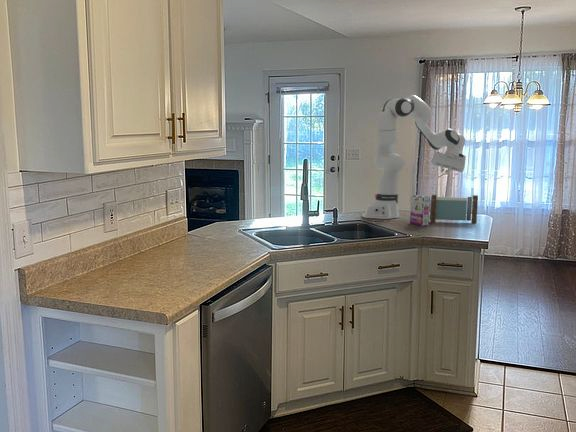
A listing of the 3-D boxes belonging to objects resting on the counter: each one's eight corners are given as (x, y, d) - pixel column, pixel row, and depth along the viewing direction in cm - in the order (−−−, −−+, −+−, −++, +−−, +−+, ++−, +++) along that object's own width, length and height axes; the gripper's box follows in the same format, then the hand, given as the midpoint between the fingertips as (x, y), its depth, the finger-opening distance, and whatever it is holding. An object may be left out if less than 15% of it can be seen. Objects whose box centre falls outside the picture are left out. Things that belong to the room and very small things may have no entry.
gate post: (472, 223, 318) (473, 195, 316) (471, 222, 321) (472, 195, 319) (476, 223, 318) (478, 195, 315) (475, 222, 321) (477, 195, 318)
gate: (430, 219, 322) (431, 196, 320) (429, 218, 325) (430, 195, 323) (471, 220, 318) (472, 197, 316) (470, 220, 321) (471, 196, 319)
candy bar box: (429, 225, 311) (430, 196, 309) (422, 226, 309) (423, 197, 307) (416, 222, 321) (417, 194, 319) (409, 223, 319) (410, 194, 317)
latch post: (431, 222, 320) (432, 195, 318) (430, 222, 322) (431, 194, 320) (435, 223, 320) (436, 195, 317) (435, 222, 322) (436, 194, 320)
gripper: (435, 148, 347) (427, 164, 341) (468, 156, 340) (460, 173, 333) (434, 154, 352) (427, 170, 346) (467, 163, 345) (459, 180, 339)
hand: (444, 172), depth 340 cm, fingers closed
